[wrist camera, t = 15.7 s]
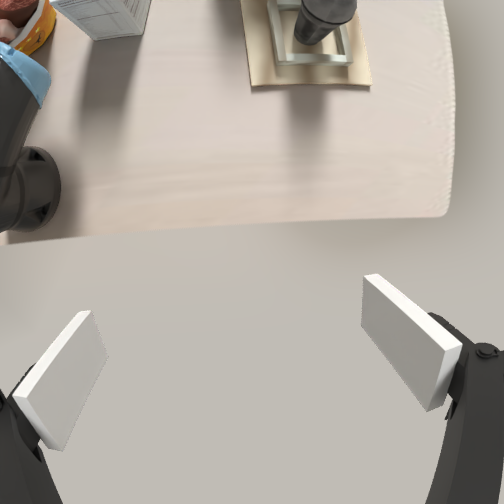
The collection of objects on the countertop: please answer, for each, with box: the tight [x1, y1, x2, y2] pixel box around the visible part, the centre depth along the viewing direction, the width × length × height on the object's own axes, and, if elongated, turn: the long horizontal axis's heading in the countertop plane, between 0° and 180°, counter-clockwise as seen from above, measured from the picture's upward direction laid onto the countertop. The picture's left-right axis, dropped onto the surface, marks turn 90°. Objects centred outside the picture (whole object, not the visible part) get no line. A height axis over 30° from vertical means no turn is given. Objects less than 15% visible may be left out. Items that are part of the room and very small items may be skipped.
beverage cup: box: [294, 0, 357, 46], centre depth 29 cm, size 7×7×20 cm
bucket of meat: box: [0, 0, 56, 56], centre depth 24 cm, size 20×16×20 cm
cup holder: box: [240, 0, 373, 87], centre depth 38 cm, size 20×18×4 cm
